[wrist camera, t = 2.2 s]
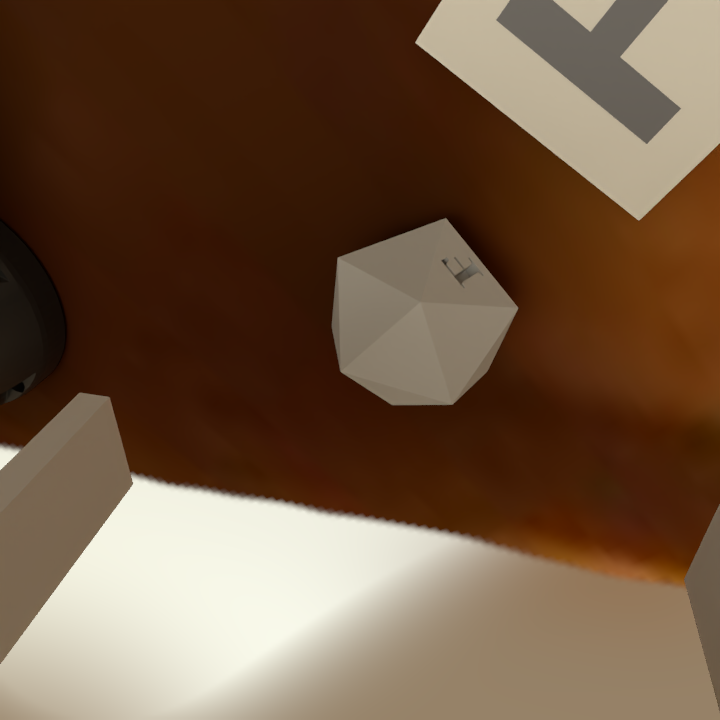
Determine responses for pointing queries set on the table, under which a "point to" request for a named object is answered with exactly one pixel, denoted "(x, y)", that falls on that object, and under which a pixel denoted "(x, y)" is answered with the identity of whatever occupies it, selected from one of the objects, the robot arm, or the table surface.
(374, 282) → the die
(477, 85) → the board
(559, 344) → the table surface
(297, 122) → the table surface
